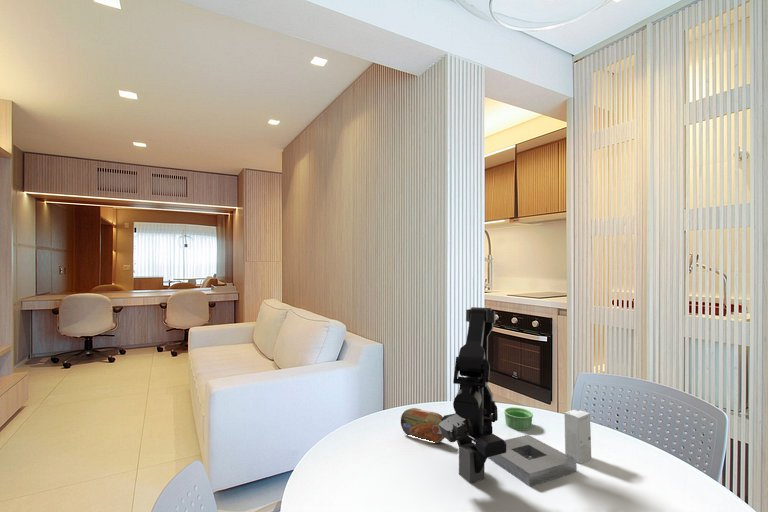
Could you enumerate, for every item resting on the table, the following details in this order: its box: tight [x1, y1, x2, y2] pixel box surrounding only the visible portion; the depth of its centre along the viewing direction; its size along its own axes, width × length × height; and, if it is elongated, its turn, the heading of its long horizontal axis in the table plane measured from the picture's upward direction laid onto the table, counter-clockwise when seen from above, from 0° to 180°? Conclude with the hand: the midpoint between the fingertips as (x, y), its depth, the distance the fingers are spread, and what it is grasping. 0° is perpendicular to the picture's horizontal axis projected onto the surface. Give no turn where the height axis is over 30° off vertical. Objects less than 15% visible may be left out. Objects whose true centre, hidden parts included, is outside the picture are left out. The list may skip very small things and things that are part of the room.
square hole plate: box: [487, 434, 578, 487], centre depth 99 cm, size 16×16×3 cm
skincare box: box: [564, 408, 592, 464], centre depth 102 cm, size 6×4×12 cm
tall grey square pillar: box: [458, 442, 486, 484], centre depth 92 cm, size 4×4×7 cm
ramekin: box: [503, 406, 534, 431], centre depth 124 cm, size 9×9×4 cm
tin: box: [400, 407, 446, 444], centre depth 113 cm, size 15×3×8 cm, turn 56°
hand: (471, 468), depth 92 cm, fingers closed on tall grey square pillar, 4 cm apart
